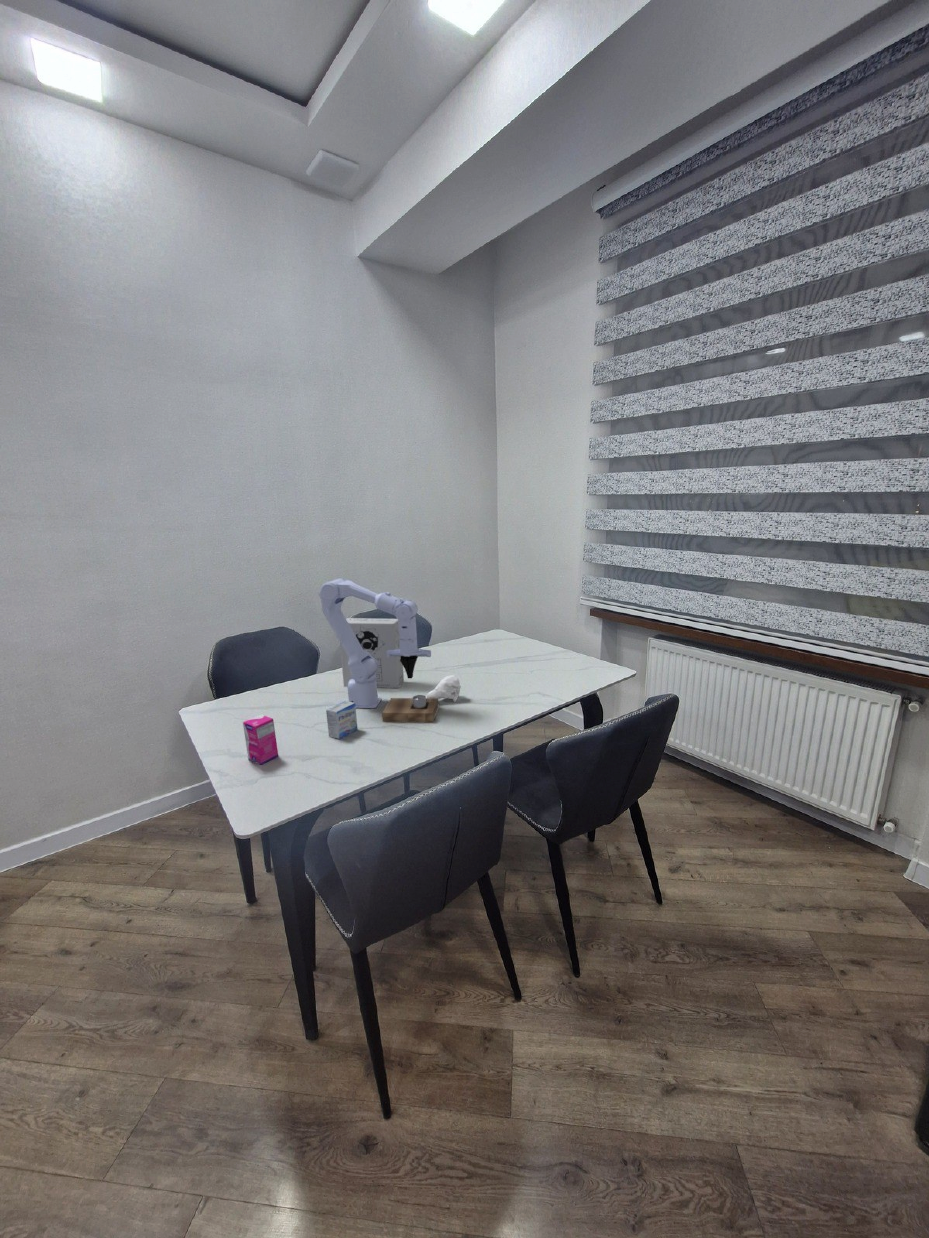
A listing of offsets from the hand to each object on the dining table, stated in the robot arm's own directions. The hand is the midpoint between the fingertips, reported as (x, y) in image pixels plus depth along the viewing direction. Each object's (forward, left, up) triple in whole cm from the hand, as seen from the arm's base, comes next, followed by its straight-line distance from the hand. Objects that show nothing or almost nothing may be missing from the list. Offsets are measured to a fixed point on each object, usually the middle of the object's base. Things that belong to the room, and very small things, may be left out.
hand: (410, 677), depth 164 cm
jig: (+1, -6, -10) cm, 12 cm away
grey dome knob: (+4, -7, -10) cm, 13 cm away
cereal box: (-19, +21, -11) cm, 30 cm away
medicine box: (-17, -20, -11) cm, 28 cm away
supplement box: (-34, -36, -11) cm, 51 cm away
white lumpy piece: (+10, +5, -11) cm, 15 cm away
